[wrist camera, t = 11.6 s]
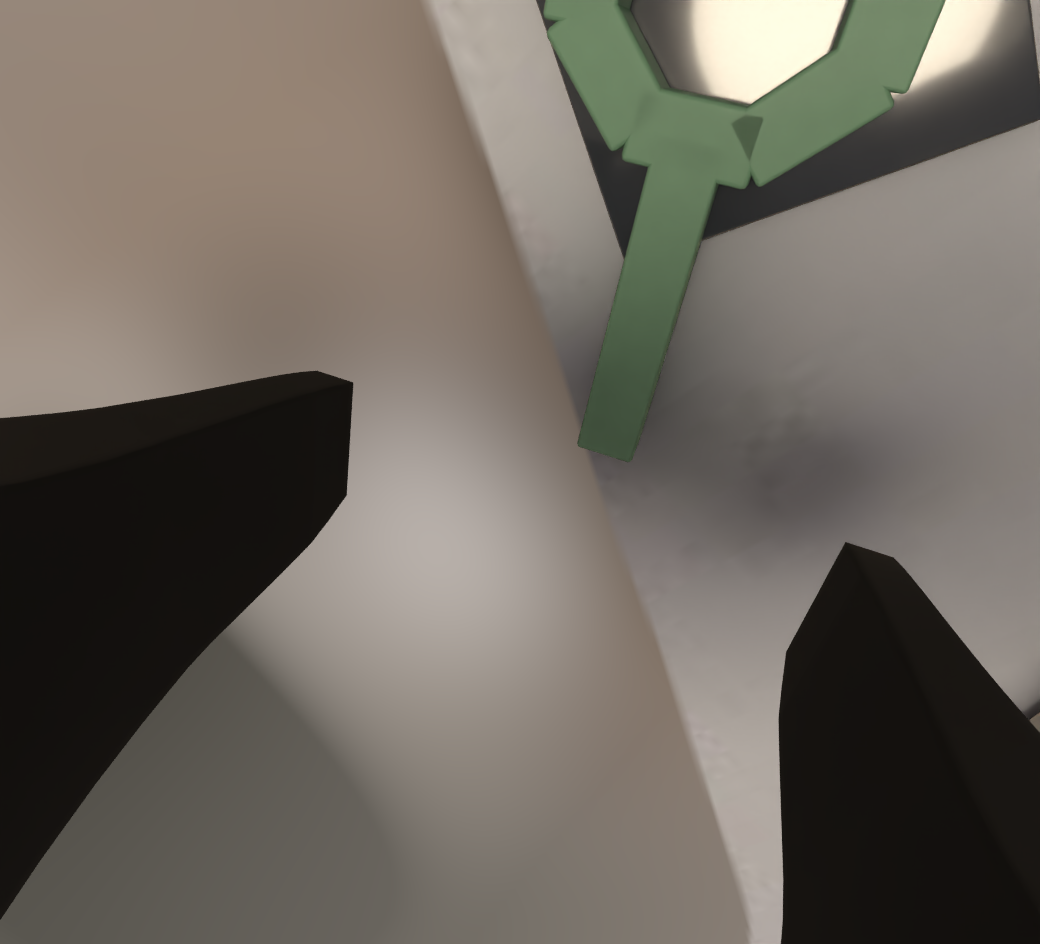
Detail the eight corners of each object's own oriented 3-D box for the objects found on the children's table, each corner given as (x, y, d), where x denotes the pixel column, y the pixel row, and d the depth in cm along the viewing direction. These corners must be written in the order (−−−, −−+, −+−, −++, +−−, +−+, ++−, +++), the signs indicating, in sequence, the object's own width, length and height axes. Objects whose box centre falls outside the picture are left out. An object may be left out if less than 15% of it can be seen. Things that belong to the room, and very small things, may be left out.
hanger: (615, -294, 10) (598, -333, 9) (1032, -240, 9) (1061, -278, 8) (494, 395, 16) (475, 415, 15) (741, 471, 15) (738, 498, 14)
